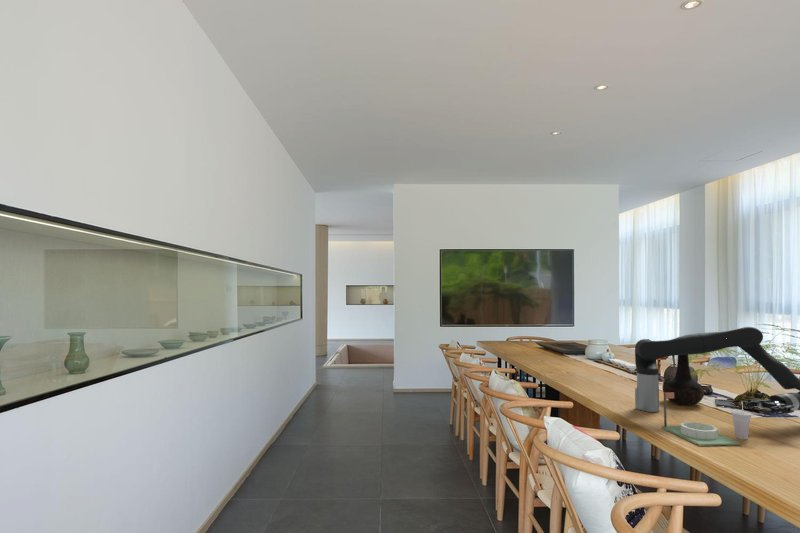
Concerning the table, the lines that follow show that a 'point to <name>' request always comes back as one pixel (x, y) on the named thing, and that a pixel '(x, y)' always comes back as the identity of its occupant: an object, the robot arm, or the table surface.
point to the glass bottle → (683, 385)
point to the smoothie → (741, 423)
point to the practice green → (697, 430)
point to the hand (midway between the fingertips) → (759, 407)
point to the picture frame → (725, 403)
